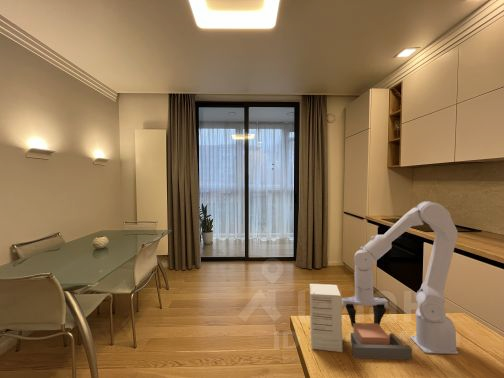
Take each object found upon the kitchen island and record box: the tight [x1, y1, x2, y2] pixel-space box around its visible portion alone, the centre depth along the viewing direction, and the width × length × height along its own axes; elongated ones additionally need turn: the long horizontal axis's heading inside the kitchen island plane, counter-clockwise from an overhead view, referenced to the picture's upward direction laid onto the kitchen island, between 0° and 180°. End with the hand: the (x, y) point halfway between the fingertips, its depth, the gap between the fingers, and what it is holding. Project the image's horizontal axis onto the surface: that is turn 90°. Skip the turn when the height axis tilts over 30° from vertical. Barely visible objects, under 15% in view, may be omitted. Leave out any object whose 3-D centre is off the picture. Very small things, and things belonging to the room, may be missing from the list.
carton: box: [352, 322, 391, 345], centre depth 79 cm, size 8×8×4 cm
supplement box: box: [309, 283, 343, 353], centre depth 79 cm, size 10×9×17 cm
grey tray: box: [350, 332, 413, 360], centre depth 75 cm, size 16×8×3 cm, turn 86°
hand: (364, 326), depth 84 cm, fingers open, 7 cm apart
